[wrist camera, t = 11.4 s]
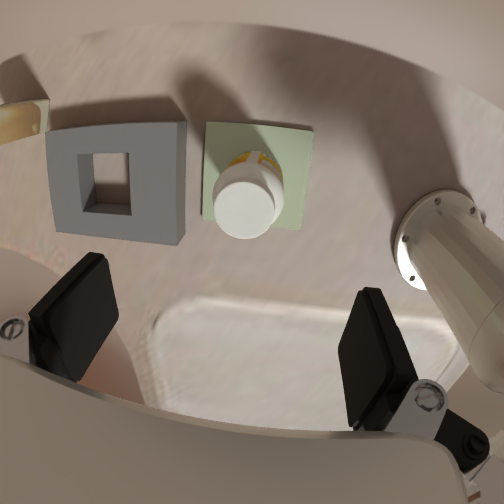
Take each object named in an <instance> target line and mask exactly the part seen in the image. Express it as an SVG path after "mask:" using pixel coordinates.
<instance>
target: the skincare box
mask: <svg viewBox="0 0 504 504" xmlns="http://www.w3.org/2000/svg"><path fill="white" fill-rule="evenodd" d="M49 103H50V100H49V99H35V100H26V101H20V102H13V103H8V104H2V105H0V145H3V144H6V143H9V142H12V141H15V140H19V139H22V138H25V137H29V136H33V135H37V134H40V133H44V132H47V124H48V113H49Z"/></svg>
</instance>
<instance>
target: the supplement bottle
mask: <svg viewBox="0 0 504 504" xmlns="http://www.w3.org/2000/svg"><path fill="white" fill-rule="evenodd" d="M212 201H213V206H214V208H213V211H214V217H215V219H216V222H217V224H218V225H219V227H220V228H221V229H222V230H223V231H224V232H226V233H227V234H228V235H230V236H233V237H235V238H240V239H250V238H254V237H257V236H259V235H261V234H263V233H264V232H265V231H266V230H267V229H268V228H269V227H270V225H271V224H272V223H273V222H274V221H275V220H276V219H277V218H278V217H279V215H280V213H281V211H282V209H283V206H284V182H283V173H282V170H281V167H280V165H279V164H278V162H277V161H276V160H275V159H274V158H273V157H272V156H270V155H269V154H267V153H264V152H261V151H248V152H245V153H242V154H240V155H239V156H237V157H236V158H235V159H234V160H233V161H232V162H231V163H230V164H229V165H228V166H227V168H226V169H225V170H224V171H223V172H222V173H221V174H220V176H219V177H218V179H217V180H216V182H215V185H214V188H213V192H212Z"/></svg>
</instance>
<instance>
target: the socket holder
mask: <svg viewBox="0 0 504 504" xmlns="http://www.w3.org/2000/svg"><path fill="white" fill-rule="evenodd" d="M186 138H187V121H137V122H118V123H104V124H93V125H83V126H75V127H67V128H60V129H56V130H52V131H48V132H45V140H46V157H47V169H48V179H49V188H50V196H51V203H52V209H53V215H54V221H55V227H56V232H62V233H70V234H79V235H87V236H96V237H104V238H113V239H121V240H130V241H138V242H147V243H156V244H164V245H173V246H177V245H178V244H179V242H180V241H181V239H182V238H183V236H184V235H185V169H186ZM94 153H129V177H130V197H131V205H124V204H108V203H96V194H95V183H94V168H93V154H94Z"/></svg>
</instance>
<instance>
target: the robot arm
mask: <svg viewBox="0 0 504 504" xmlns="http://www.w3.org/2000/svg"><path fill="white" fill-rule="evenodd" d="M394 257H395V262H396V266H397V268H398V270H399V272H400V274H401V275H402V277H403V278H404V279H405V281H406V282H407V283H408V284H410V285H412V286H413V287H415V288H418V289H421V290H427V291H428V292H429V294H430V295H431V297H432V299H433V300H434V302H435V303H436V305H437V306H438V308H439V310H440V311H441V313H442V315H443V316H444V318H445V320H446V321H447V323H448V325H449V326H450V328H451V330H452V332H453V333H454V335H455V337H456V339H457V340H458V342H459V344H460V346H461V348H462V349H463V351H464V353H465V355H466V357H467V359H468V361H469V363H470V364H471V366H472V368H473V370H474V371H475V374H476V375H477V377H478V379H479V380H480V381H481V383H482V384H483V385H484V386H486V387H487V388H488V389H490V390H492V391H494V392H497V393H501V394H504V241H503V240H502V239H501V238H500V237H498V236H497V235H496V234H495V233H493V232H492V231H491V230H490V229H488V228H487V227H486V226H485V225H483V224H482V219H481V215H480V212H479V210H478V208H477V206H476V205H475V204H474V202H473V201H472V200H471V199H470V198H468V197H467V196H466V195H464V194H462V193H460V192H458V191H454V190H444V189H443V190H439V191H434V192H432V193H430V194H428V195H426V196H424V197H423V198H421V199H420V200H419V201H417V202H416V203H415V204H414V205H413V206H412V207H411V208H410V210H409V211H408V212H407V214H406V215H405V216H404V218H403V220H402V222H401V224H400V226H399V228H398V231H397V234H396V238H395V244H394ZM28 314H29V316H30V318H31V320H30V321H29V322H28V321H27V319H26V318H24V317H22V316H12V317H10V318H7V319H6V320H4V322H2V323H1V324H0V504H504V427H503V428H502V429H501V430H500V431H498V432H497V433H496V434H495V435H494V436H492V437H491V438H490V439H489V440H488V438H487V436H486V435H485V433H483V432H482V431H481V430H480V429H478V428H477V427H475V426H474V425H472V424H470V423H469V422H467V421H466V420H464V419H463V418H461V417H460V416H458V415H457V414H455V413H454V412H452V411H450V410H449V409H447V407H448V396H447V394H446V391H445V390H444V389H443V387H442V386H441V385H439V384H438V383H437V382H435V381H432V380H428V379H421V380H419V379H418V376H417V374H416V371H415V368H414V365H413V363H412V360H411V357H410V355H409V352H408V350H407V347H406V345H405V342H404V340H403V337H402V335H401V332H400V330H399V328H398V326H397V325H396V323H395V321H394V318H393V316H392V314H391V311H390V309H389V307H388V305H387V302H386V300H385V298H384V296H383V293H382V291H381V289H379V288H371V287H364V289H363V290H362V291H358V293H357V296H356V299H355V302H354V305H353V307H352V310H351V313H350V316H349V319H348V321H347V324H346V327H345V329H344V332H343V335H342V337H341V340H340V342H339V346H338V355H339V361H340V368H341V374H342V380H343V387H344V394H345V401H346V409H347V417H348V424H349V426H350V427H353V431H311V430H290V429H276V428H265V427H255V426H247V425H239V424H232V423H225V422H219V421H213V420H207V419H201V418H196V417H191V416H186V415H181V414H177V413H172V412H168V411H164V410H160V409H156V408H152V407H148V406H144V405H140V404H137V403H134V402H130V401H127V400H124V399H120V398H117V397H114V396H111V395H108V394H105V393H101V392H99V391H96V390H93V389H90V388H88V387H85V386H82V385H80V384H77V383H76V382H77V381H80V380H81V379H82V377H83V375H84V374H85V372H86V370H87V368H88V367H89V365H90V363H91V362H92V360H93V359H94V357H95V355H96V354H97V352H98V350H99V349H100V347H101V346H102V344H103V342H104V341H105V339H106V338H107V336H108V335H109V333H110V331H111V330H112V328H113V327H114V325H115V324H116V322H117V320H118V317H119V312H118V308H117V303H116V299H115V294H114V290H113V285H112V280H111V274H110V269H109V263H108V260H107V259H106V258H105V256H104V255H103V254H100V253H94V252H89V253H88V254H86V255H85V256H84V257H83V258H82V259H81V260H80V261H79V262H78V263H77V264H76V265H75V266H74V267H73V268H72V269H71V270H70V271H69V272H67V273H66V274H65V275H64V276H63V277H62V278H61V279H60V280H59V281H58V282H57V284H55V285H54V286H53V287H52V288H51V289H50V291H49V292H48V293H47V294H46V295H45V296H44V297H43V298H42V299H41V300H40V301H39V302H38V303H37V304H36V305H35V306H34V307H33V308H32V310H31V311H30V312H29V313H28Z"/></svg>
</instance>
